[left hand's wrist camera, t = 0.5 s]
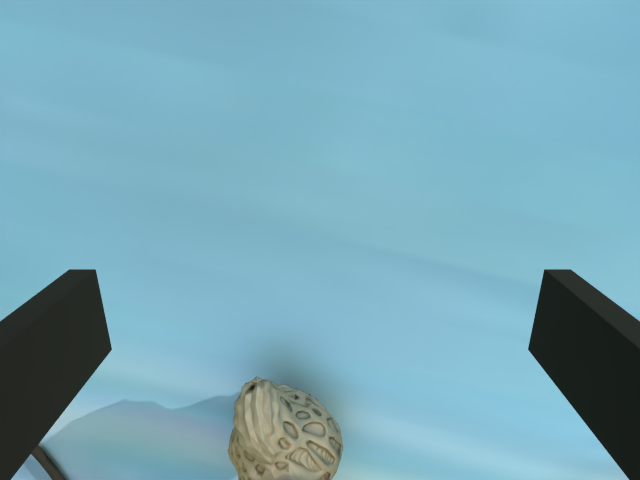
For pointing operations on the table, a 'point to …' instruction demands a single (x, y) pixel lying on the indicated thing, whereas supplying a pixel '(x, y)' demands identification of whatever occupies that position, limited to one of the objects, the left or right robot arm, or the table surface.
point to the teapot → (283, 435)
